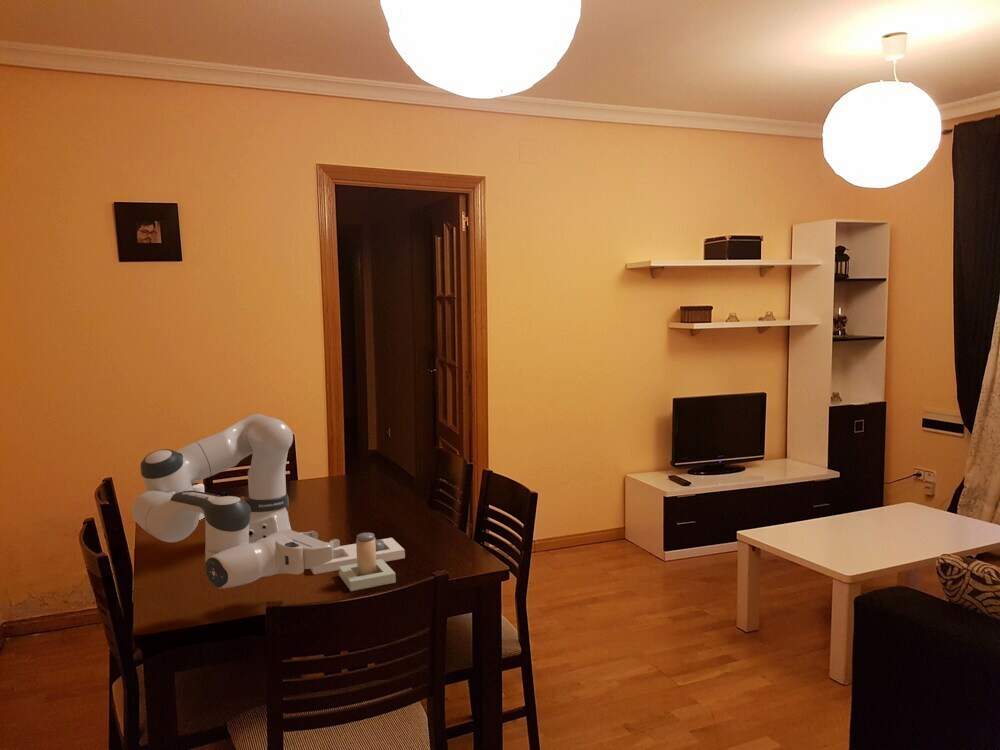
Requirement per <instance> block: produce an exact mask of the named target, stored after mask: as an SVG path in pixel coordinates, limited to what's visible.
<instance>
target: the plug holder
mask: <svg viewBox="0 0 1000 750" xmlns="http://www.w3.org/2000/svg"><path fill="white" fill-rule="evenodd" d="M338 574H339V577H340V578H341V580H342V581H343V583H344V584H345V585H346V587H347V588H348V590H349V591H350V592H355V591H359V590H364V589H369V588H375V587H379V586H385V585H389V584H395V583H396V582H397V581H396V580H397V578H396V575H397V574H396V572H395V571H394V570H393V569H392V568H391V567H390V565H388V564H387V562H384V561H383V559H379V560H376V573H375V574H370V575H364V576H359V577H358V576H357V563H356V564H351V565H345V566H339V570H338Z"/></svg>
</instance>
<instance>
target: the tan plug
mask: <svg viewBox="0 0 1000 750" xmlns="http://www.w3.org/2000/svg"><path fill="white" fill-rule="evenodd" d="M355 540H356V541H355V544H356V549H357V577H359V576H364V575H370V574H375V573H376V544H375V540H376V537H375V533H373V532H360V533H359V534H357V535H356V539H355Z"/></svg>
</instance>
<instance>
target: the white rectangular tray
mask: <svg viewBox="0 0 1000 750" xmlns="http://www.w3.org/2000/svg"><path fill="white" fill-rule="evenodd" d="M375 544H376V560H379V559H383V561H384V562H385V563H387V562H391V561H397V560H401V559H405V558H406V550H405V549H404V547H402V546H401V545H400V544H399V543H398V542H397V541H396V540H395V539H394V538H393V537H388V538H380V539H375ZM356 563H357V549H356V543H352V544H350V543H349V544H346V545H340V546H339V547H336V548H334V549H333V559H332V560H331V561H329V562H327V563H324V564H322V565H319V566H316V567H314V568H310V569H309V570H310V571H311V573H312V574H313V575H319V574H324V573H330V572H331V573H332V572H335V571H339V566H345V565H351V564H356Z"/></svg>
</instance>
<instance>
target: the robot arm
mask: <svg viewBox="0 0 1000 750" xmlns="http://www.w3.org/2000/svg"><path fill="white" fill-rule="evenodd" d="M293 442H294V434H293V431H292V430H291V427H290V426H288V424H286V423H285V421H283V420H282V419H278V418H275V417H272V416H267V415H265V414H262V413H256V414H250V415H247V416H245V417H243V418H242V419H241V420H240V421H238V422H236V423H233V425H231V426H229V427H227V428H225V429H224V430H221V431H219V432H217V433H215V434H212V435H209V436H207V437H204V438H202V439H199V440H197V441H195V442H191V443H189V444H187V445H185V446H183V447H181V448H179V449H176V450H172V449H170V448H168V449H167V448H164V449H159V450H155V451H152V452H150V453H148V454H147V455H146V456H144V458H143V459H142V461H141V462H140V474H141V476H142V478H143V484H144V488H145V492H143V493H141V494H140V495H139V496H138V497H136V499H135V500H134V502H133V504H132V508H131V514H132V517H133V519H134V521H135V522H136V524H138V526H140V527H141V528H142V529H143V530H144V531H145V532H147V533H148V534H149V535H151V536H153V537H154V538H156V539H157V540H160V541H163V542H166V543H177V542H180V541H183V540H185V539H186V538H188V537H190V536H191V534H192V533H194V531H195V530H196V528H197V527H198V524H199V522H200V521H199V517H200V513H202V514H204V518H205V519H204V522H205V523H204V524H205V525H204V526H205V532H204V533H205V540H204V543H205V544H204V545H205V547H204V556H205V557H204V560H205V564H204V572H205V573H204V574H205V576H206V579H207V581H208V582H209V583H210V584H211V586H213V587H214V588H216V589H228V588H235V587H238V586H243V585H247V584H250V583H253V582H255V581H257V580H258V579H260V578H262V577H270V576H273V575H274V576H275V575H277V574H278V575H281V574H290V575H300V574H303V573H304V572H305V571H304V570H311V569H310V568H314V567H316V566H319V565H322V564H324V563H327V562H329V561H331V560H332V559H333V549H334V548H336V547H339V546H341V541H340V539H337V538H333V539H329V540H330V541H329V542H328V541H326V542H325V541H323V540H320V539H318V538H319V534H318V533H319V532H317V531H315V530H311V531H305V532H303V531H301V532H298V531H295V530H292V527H291V526H292V525H291V523H290V518H289V517H290V516H289V508H290V507H289V506H290V505H289V496H288V493H287V484H286V483H287V482H286V480H287V479H286V466H287V460H288V459H287V458H288V453H289V449H290V448H291V447H292V444H293ZM250 455H251V463H250V467H249V469H248V471H247V483H248V484H247V486H248V496H247V497H245V496H243V495H242V496H240V497H239V496H234V495H227V496H220V495H215V494H212V493H209V492H205V491H204V492H199V491H193V488H192V483H197V482H199V481H202V480H205V479H207V478H210V477H212V476H215V475H218V474H219V473H221V472H225V471H226V470H228V469H231V468H233V467H236V466H237V465H238V463H240V461H243V459H246V458H247V457H249V456H250Z"/></svg>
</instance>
